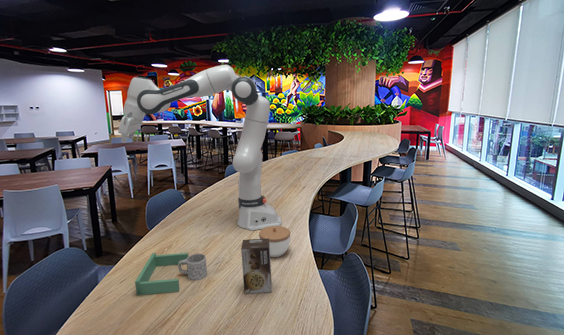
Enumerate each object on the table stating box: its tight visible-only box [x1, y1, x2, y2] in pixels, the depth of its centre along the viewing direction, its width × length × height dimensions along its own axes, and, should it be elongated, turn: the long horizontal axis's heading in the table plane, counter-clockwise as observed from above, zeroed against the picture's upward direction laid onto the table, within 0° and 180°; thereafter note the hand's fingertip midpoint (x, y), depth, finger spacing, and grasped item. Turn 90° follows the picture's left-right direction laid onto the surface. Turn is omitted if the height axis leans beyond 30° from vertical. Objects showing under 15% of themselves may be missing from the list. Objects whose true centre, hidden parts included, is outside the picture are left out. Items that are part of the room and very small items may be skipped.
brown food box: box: [240, 238, 273, 294], centre depth 96 cm, size 9×6×16 cm
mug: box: [177, 253, 208, 281], centre depth 105 cm, size 10×7×7 cm
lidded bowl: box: [258, 225, 291, 258], centre depth 119 cm, size 13×13×11 cm
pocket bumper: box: [134, 252, 190, 296], centre depth 104 cm, size 13×18×5 cm
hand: (127, 140), depth 136 cm, fingers open, 8 cm apart
